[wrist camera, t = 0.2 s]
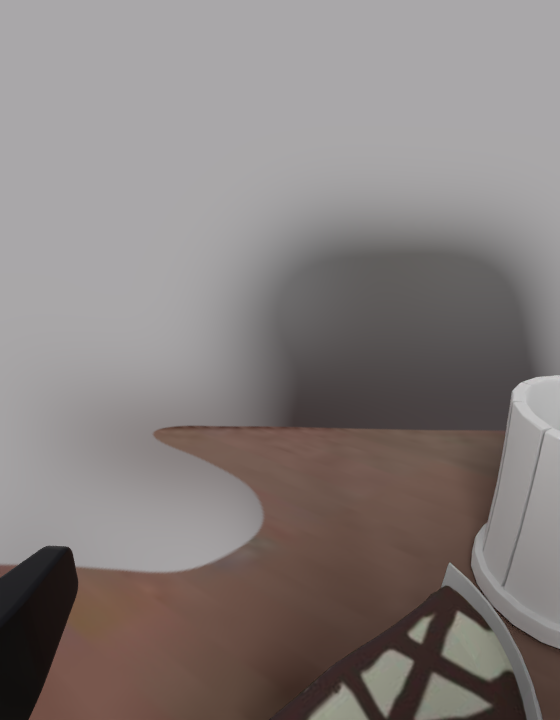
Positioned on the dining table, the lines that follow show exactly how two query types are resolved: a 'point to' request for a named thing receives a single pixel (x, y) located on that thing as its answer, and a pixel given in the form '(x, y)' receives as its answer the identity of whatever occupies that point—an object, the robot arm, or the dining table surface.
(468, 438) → the dining table surface
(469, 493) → the dining table surface
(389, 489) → the dining table surface
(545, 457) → the cup
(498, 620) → the food container
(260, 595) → the dining table surface
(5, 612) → the robot arm
